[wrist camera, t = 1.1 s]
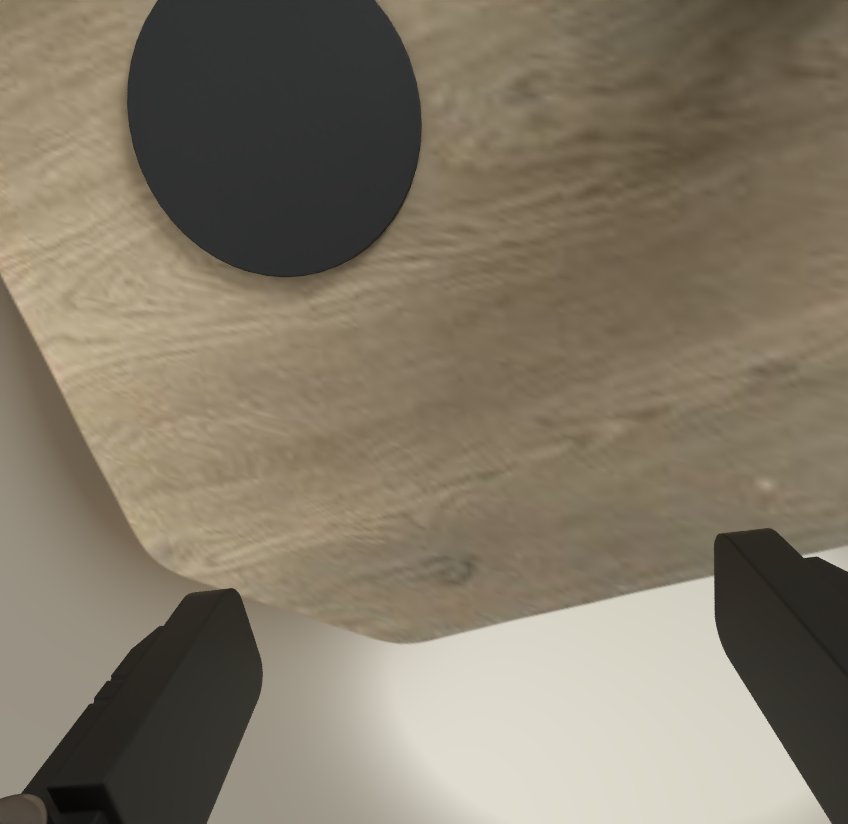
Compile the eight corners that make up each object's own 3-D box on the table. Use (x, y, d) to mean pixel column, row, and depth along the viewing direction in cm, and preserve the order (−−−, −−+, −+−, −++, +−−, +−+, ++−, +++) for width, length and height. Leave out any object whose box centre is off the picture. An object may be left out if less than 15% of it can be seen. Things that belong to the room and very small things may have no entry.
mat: (172, -108, 27) (166, -115, 27) (469, 32, 29) (469, 28, 28) (105, 210, 32) (99, 210, 32) (360, 318, 34) (359, 319, 33)
